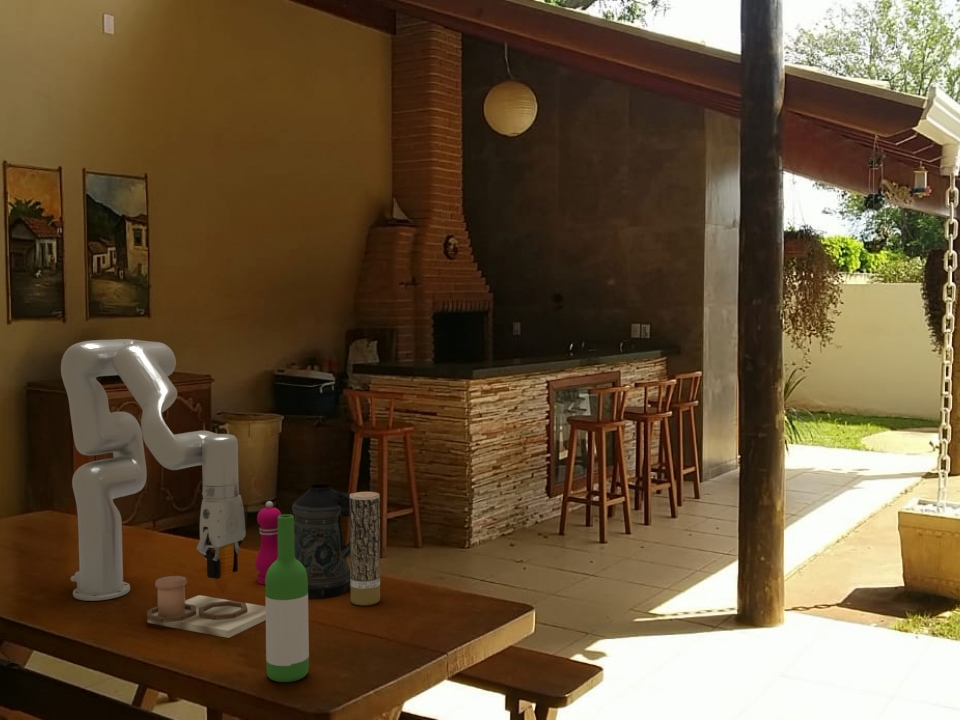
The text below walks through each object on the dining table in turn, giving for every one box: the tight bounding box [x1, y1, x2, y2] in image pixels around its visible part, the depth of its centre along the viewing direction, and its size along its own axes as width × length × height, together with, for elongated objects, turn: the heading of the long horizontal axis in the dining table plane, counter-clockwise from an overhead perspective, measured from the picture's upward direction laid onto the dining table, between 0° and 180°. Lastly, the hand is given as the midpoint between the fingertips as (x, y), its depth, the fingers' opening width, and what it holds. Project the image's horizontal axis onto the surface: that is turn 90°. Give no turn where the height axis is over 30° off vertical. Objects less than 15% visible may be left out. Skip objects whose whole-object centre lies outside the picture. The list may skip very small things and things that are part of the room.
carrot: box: [211, 543, 234, 594], centre depth 207 cm, size 5×5×15 cm
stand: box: [146, 594, 266, 639], centre depth 207 cm, size 23×18×2 cm
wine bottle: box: [264, 513, 310, 683], centre depth 176 cm, size 8×8×30 cm
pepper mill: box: [254, 500, 282, 586], centre depth 235 cm, size 7×7×20 cm
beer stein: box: [291, 484, 351, 599], centre depth 230 cm, size 16×19×25 cm
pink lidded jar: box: [154, 575, 188, 617], centre depth 206 cm, size 6×6×8 cm
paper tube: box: [349, 491, 381, 607], centre depth 219 cm, size 7×7×25 cm
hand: (222, 573), depth 208 cm, fingers closed on carrot, 4 cm apart
